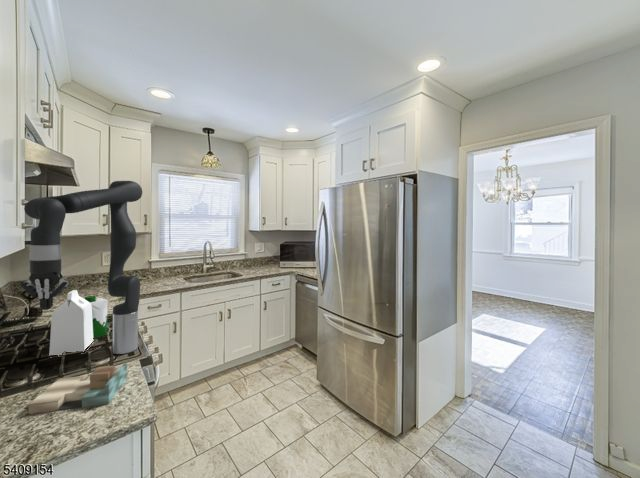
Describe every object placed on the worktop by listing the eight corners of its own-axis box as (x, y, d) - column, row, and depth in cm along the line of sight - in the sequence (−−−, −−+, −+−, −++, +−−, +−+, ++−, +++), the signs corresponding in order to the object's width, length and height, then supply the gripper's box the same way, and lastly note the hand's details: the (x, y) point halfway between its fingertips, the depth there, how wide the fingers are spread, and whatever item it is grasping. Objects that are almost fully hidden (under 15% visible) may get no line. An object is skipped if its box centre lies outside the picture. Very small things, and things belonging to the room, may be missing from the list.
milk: (61, 345, 124) (61, 289, 123) (93, 342, 129) (93, 287, 128) (49, 357, 113) (48, 295, 112) (84, 353, 118) (84, 293, 117)
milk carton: (80, 336, 134) (80, 296, 133) (102, 331, 142) (102, 293, 141) (88, 341, 130) (88, 299, 129) (110, 334, 137) (110, 295, 137)
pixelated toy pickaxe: (59, 386, 93) (59, 369, 93) (126, 379, 99) (126, 363, 99) (28, 414, 80) (28, 394, 80) (108, 403, 85) (108, 385, 85)
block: (98, 381, 92) (98, 367, 92) (115, 379, 93) (115, 365, 93) (90, 390, 87) (90, 374, 87) (108, 388, 89) (108, 373, 88)
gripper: (76, 257, 97) (76, 305, 98) (29, 256, 93) (30, 306, 94) (62, 259, 90) (63, 311, 90) (11, 259, 86) (12, 313, 87)
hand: (46, 309), depth 92 cm, fingers closed
